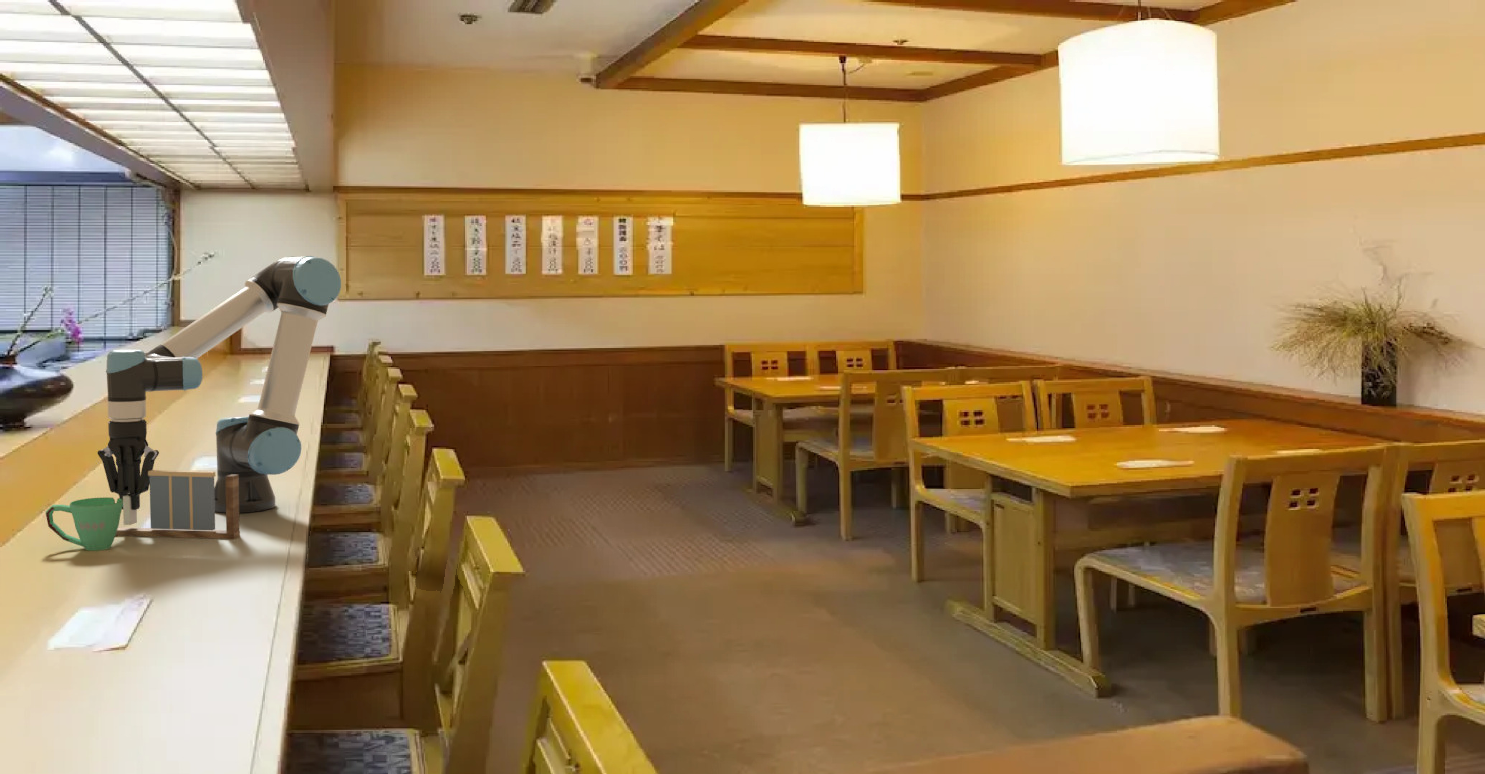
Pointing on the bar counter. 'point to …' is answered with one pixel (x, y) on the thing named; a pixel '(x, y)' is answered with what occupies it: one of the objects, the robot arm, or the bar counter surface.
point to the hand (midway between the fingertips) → (130, 523)
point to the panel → (182, 500)
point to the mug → (90, 521)
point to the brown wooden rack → (229, 533)
